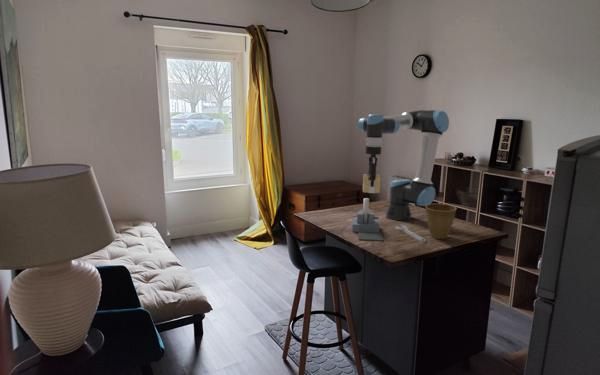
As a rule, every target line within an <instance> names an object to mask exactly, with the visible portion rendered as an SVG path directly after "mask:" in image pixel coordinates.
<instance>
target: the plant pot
mask: <svg viewBox="0 0 600 375" xmlns="http://www.w3.org/2000/svg"><path fill="white" fill-rule="evenodd" d="M424 207H425V215H426V221H427V225H428V227H427V228H428V229H429V233H430V237H432V238H433V239H437V240H445V239H447V237H448V235H449V233H450V232H451V228H452V226H453V223H454V220H455V218H456V217H455V216H456V214H457V213H456V212H457V209H458V208H457V207H456V206H454V205H450V204H444V203H431V204H428V205H426V206H424Z"/></svg>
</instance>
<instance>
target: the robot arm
mask: <svg viewBox="0 0 600 375" xmlns="http://www.w3.org/2000/svg"><path fill="white" fill-rule="evenodd" d="M449 126H450V119H449V116H448V114H447V112H445V110H438V109H436V110H428V109H427V110H425V109H423V110H422V109H420V110H419V109H418V110H414V111H408V112H403V113H402V114H395V115H386V116H385V115H383V114H375V113H370V114H368V116H367V117H361V118H359V120H358V122H357V128H358V130H359V131H360V132H364V133H366V138H365V139H364V141H365V142H366V143H365V145H366V146H365V154H367V155H370V156H368V166H369V167H368V173H367V174H370V178H369V179H368V180H369V193H368V194H375V193H374V192H375V179H376V174H377V165H378V164H377V162H378V157H377V155H378V156H379V155H382V143H383V134H385V135H386V134H390V135H392V134H396V133H398V132H399V130H400V129H404V130H414V131H415V130H416V131H421V132H420V134H421V135H422V140H421V145H420V146H421V147H420V152H419V156H418V163H417V166H416V173H415V177H414V178H412V179H408V178H405V179H394V180H391V182H390V187H389V188H390V189H389V190H390V191H389V203H388V204H389V205H388V208H387V210H386V212H385V217H386V218H387V219H390V220H394V221H395V220H396V221H409V220H411V219H412V211H411V207H410V204H413V205H417V206H422V207H425V206H426V205H428V204H433V201H434V199H435V197H436V189H435V187H433V185H434V183H433V182H432V176H433V170H434V166H435V161H436V160H435V159H436V155H437V149H438V144H439V139H440V138H441V137H442V136H443V133H446V132H447V131H448V129H449Z"/></svg>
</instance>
